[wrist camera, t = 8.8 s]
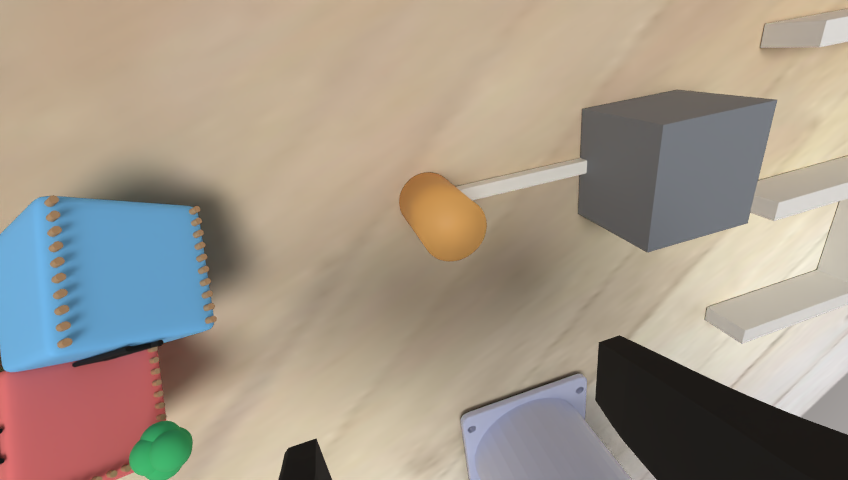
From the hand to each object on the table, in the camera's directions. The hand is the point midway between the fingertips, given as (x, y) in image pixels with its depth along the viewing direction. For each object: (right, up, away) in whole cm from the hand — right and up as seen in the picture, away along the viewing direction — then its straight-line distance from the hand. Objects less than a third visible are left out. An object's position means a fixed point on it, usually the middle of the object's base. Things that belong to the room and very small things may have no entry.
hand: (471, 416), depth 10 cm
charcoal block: (+4, +7, +9) cm, 12 cm away
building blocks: (-15, +1, +6) cm, 16 cm away
